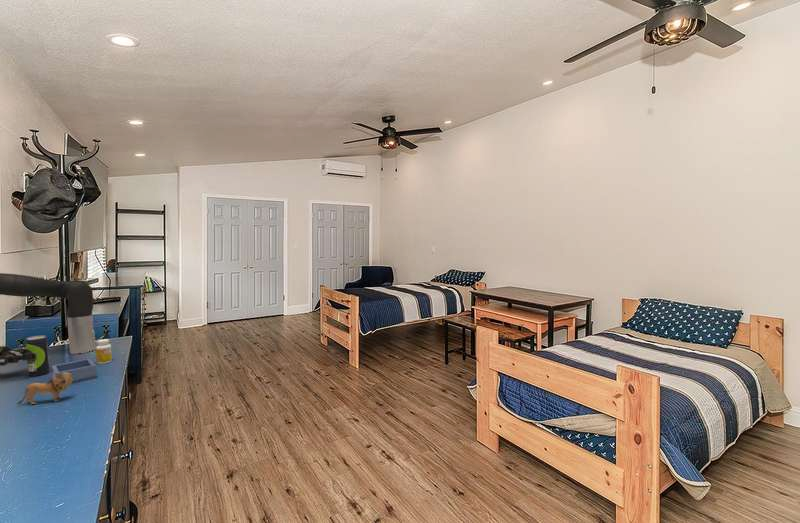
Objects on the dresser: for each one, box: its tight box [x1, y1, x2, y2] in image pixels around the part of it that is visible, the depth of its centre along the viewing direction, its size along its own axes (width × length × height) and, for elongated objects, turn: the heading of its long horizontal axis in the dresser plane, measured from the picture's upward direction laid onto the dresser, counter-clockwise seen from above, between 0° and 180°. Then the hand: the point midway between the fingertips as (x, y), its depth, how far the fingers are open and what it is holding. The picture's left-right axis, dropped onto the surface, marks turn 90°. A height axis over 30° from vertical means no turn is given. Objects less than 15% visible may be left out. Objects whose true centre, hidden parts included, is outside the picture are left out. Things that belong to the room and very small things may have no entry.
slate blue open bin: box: [50, 358, 98, 384], centre depth 152 cm, size 12×12×5 cm
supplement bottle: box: [95, 338, 113, 365], centre depth 171 cm, size 5×5×10 cm
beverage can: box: [25, 335, 50, 377], centre depth 156 cm, size 6×6×15 cm
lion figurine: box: [16, 372, 73, 405], centre depth 132 cm, size 15×5×9 cm, turn 117°
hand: (41, 352), depth 157 cm, fingers open, 8 cm apart
